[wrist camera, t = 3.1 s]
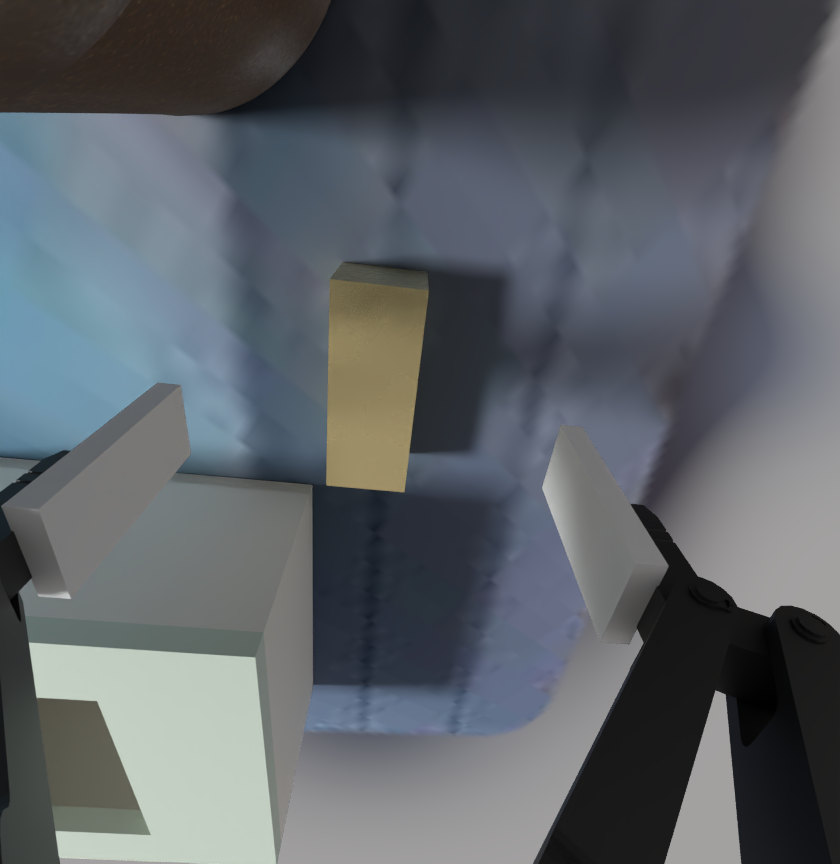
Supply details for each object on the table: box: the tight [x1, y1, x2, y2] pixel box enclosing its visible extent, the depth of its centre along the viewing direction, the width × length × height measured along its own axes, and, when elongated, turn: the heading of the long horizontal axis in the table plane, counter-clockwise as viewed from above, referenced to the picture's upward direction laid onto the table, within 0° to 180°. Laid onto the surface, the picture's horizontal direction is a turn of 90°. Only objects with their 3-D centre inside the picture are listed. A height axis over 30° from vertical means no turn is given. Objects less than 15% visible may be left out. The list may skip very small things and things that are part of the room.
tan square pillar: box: [326, 262, 429, 492], centre depth 20 cm, size 4×9×4 cm, turn 173°
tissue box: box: [0, 457, 313, 864], centre depth 24 cm, size 18×18×10 cm
